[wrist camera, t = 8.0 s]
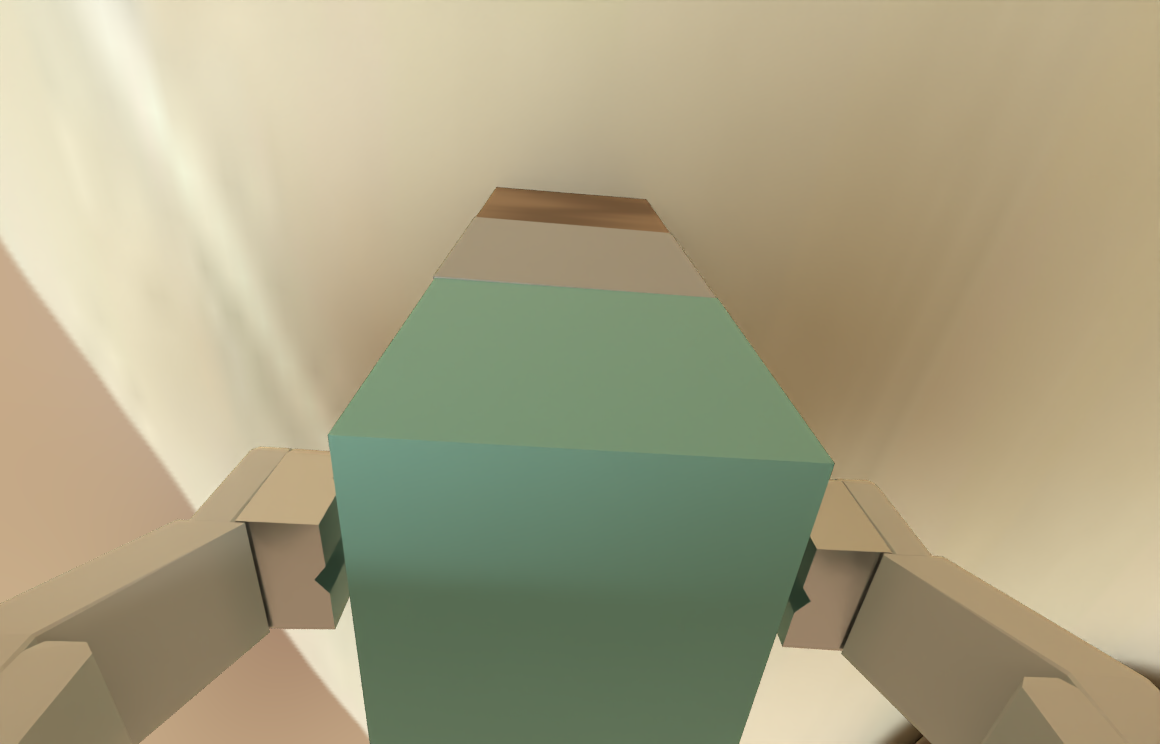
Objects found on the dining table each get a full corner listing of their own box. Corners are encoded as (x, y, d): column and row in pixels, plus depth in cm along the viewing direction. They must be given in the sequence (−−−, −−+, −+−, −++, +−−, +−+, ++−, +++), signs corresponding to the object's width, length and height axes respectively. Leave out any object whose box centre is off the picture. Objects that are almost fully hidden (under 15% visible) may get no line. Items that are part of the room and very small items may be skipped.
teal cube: (717, 298, 10) (834, 463, 6) (674, 515, 12) (734, 757, 8) (434, 277, 10) (327, 435, 5) (442, 503, 12) (370, 747, 8)
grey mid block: (670, 233, 15) (715, 298, 10) (644, 401, 17) (671, 515, 12) (474, 216, 14) (433, 276, 10) (474, 390, 17) (439, 503, 12)
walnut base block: (646, 199, 19) (670, 234, 15) (628, 336, 21) (644, 403, 17) (496, 187, 19) (474, 219, 14) (494, 327, 21) (474, 392, 17)
